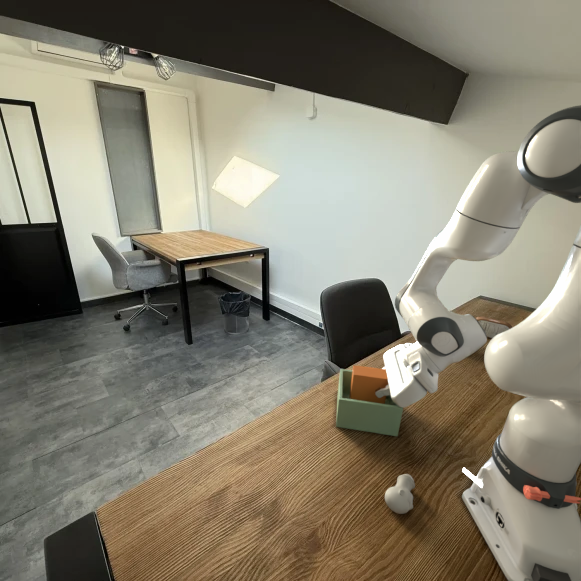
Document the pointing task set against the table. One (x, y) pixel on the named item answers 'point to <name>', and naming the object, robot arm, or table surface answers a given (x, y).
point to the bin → (365, 411)
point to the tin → (493, 326)
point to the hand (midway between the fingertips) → (375, 387)
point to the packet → (367, 383)
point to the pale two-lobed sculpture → (401, 494)
